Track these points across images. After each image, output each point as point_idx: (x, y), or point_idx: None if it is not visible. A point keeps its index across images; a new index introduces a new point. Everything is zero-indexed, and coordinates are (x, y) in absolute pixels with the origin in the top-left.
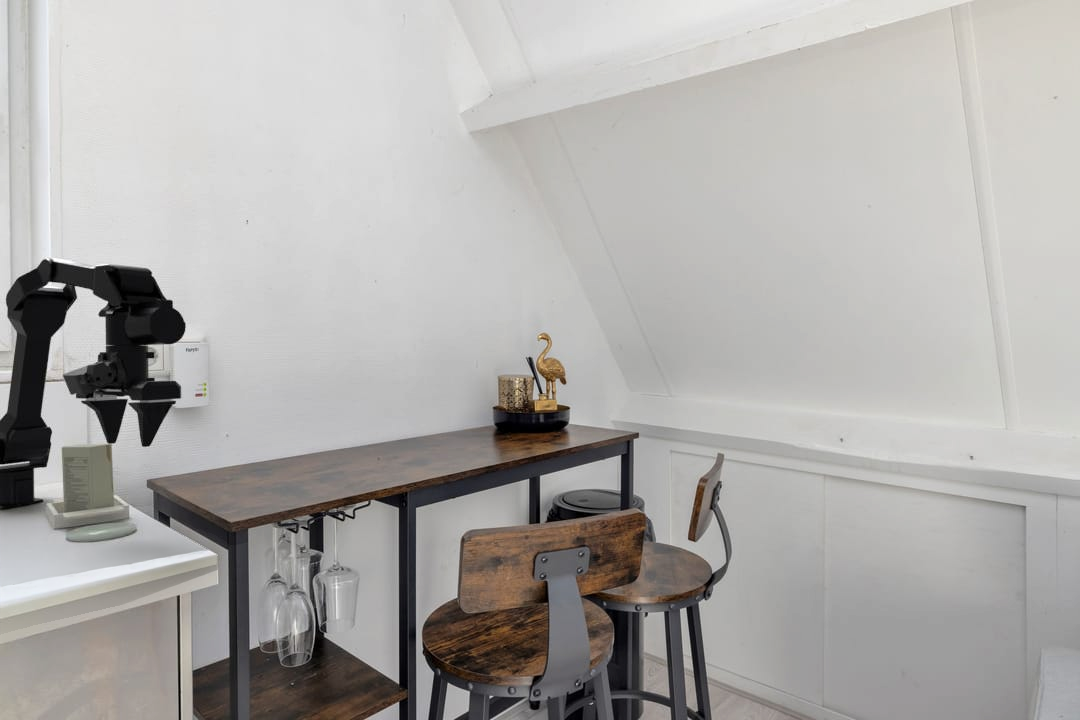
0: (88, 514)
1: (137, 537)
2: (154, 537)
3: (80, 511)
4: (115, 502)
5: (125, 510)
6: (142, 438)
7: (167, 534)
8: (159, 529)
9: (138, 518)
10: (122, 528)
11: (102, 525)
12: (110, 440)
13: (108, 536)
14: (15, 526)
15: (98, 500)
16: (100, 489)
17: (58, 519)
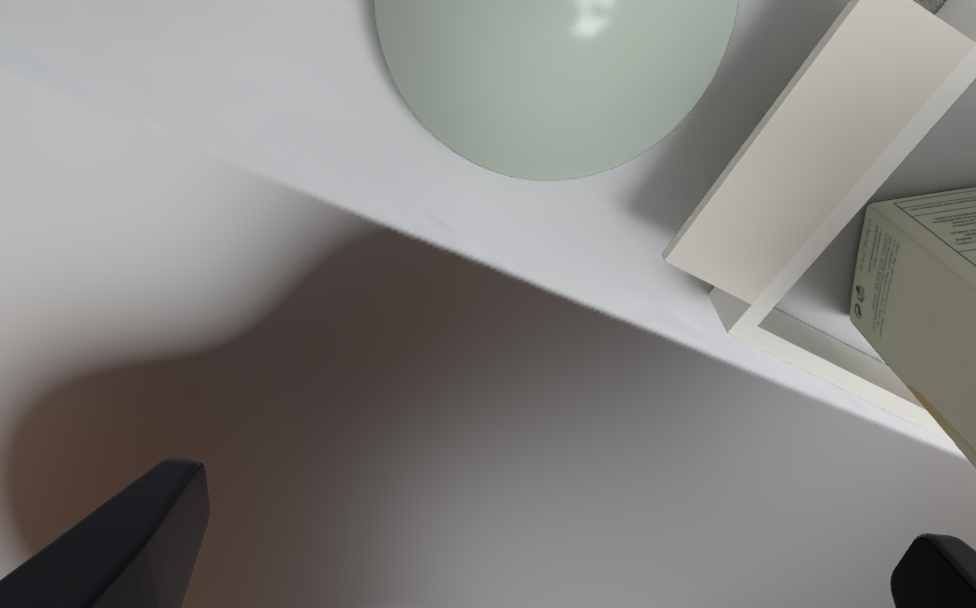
0: (783, 99)
1: (282, 22)
2: (197, 56)
3: (899, 132)
4: None
5: (731, 305)
6: (96, 526)
7: (200, 127)
8: (344, 187)
9: (663, 310)
10: (465, 76)
11: (647, 87)
12: (933, 574)
13: None
14: None
15: (914, 284)
16: (948, 335)
17: (973, 14)
